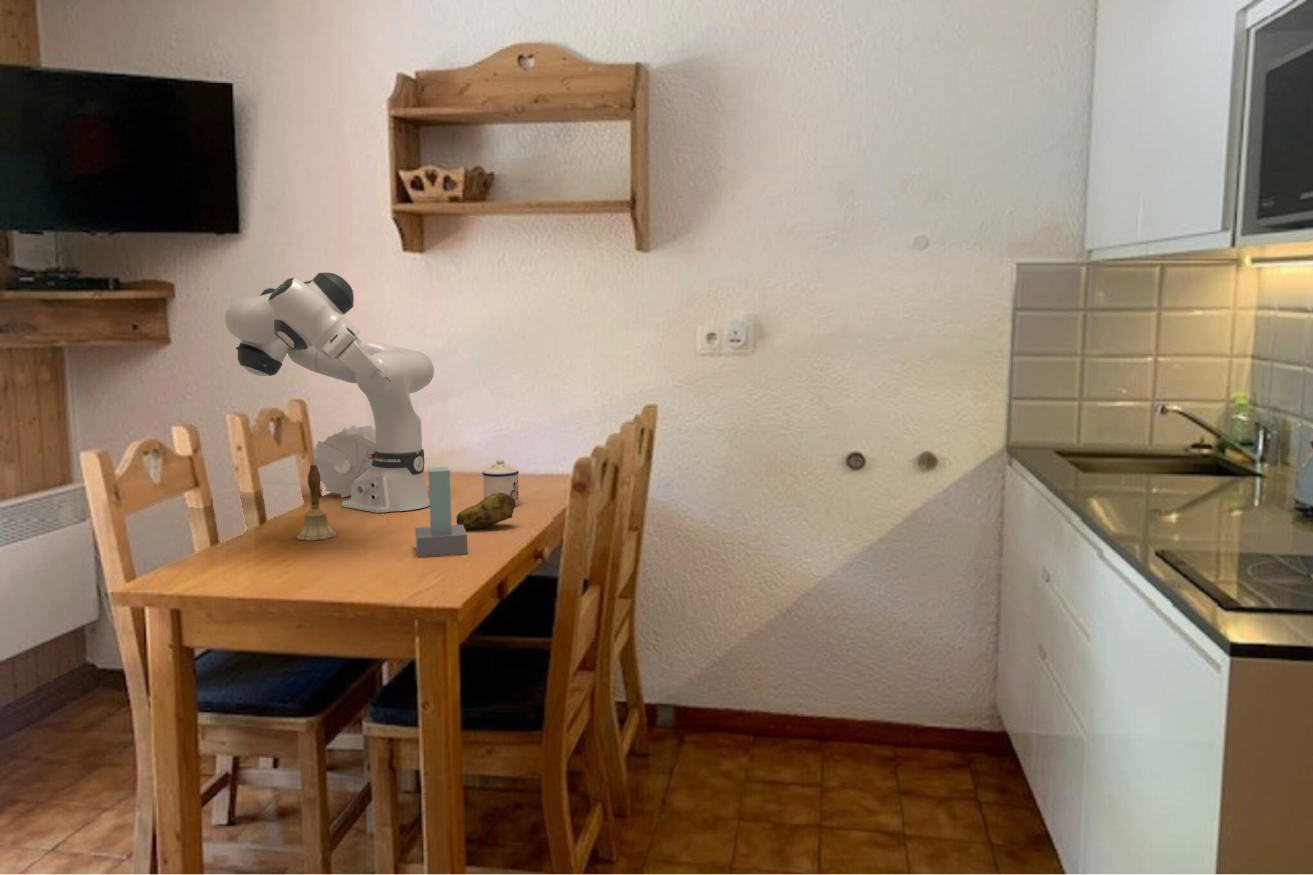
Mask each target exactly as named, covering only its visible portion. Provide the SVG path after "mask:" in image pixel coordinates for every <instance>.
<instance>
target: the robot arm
mask: <svg viewBox="0 0 1313 875" xmlns="http://www.w3.org/2000/svg"><path fill="white" fill-rule="evenodd" d="M353 308H354V291H353V288H352V286H351V285H350V283H348V281H347V280H345V278H343V277H342V276H340V275H339V274H336V273H333V272H318V273H317V274H316V275H315V276H314V277H313V278H312V279H311V280H307V281H302V280H300V279H298V278H297V277H289V278H288V279H286V280H285V281H283V283H281V284H280V285H279V286H278V287H277V288H272V287H268V288H265V289H263V291H262V292H261V293H260V295H257V296H248V297H245V298H241V299H238V300H236V301H235V302H233V303H231V305H230V306H229V307H227V310H226V312H225V314H224V315H225V316H224V323H225V325H226V328H227V330H228V331H229V332H230V333H231V335H233V336H234V337H235V338H237V339H238V340H240V342H239V344H238V346H236V347H235V348H236V350H237V361H238V364H239V365H240V366H241V367H242V368H243V369H244V370H246V371H247V372H248V373H251V374H252V375H255V376H259V377H267V376H269V377H271V376H274V375H276V374H278V373H279V371H280V369H281V368H282V366H283V362H284V360H285V357H286V356H287V355H288V357H289V359H290V360H291V361H292V362H293V363H295V364H297V365H298V366H300V367H303V368H304V369H307V370H308V371H311V372H314V373H316V374H320V375H322V376H326V377H330V378H333V379H336V380H339V381H344V382H346V383H351V384H357V387H358V388H359V390H360V391H361V392H362V393H363V394H364V395H365V397H366V398H367V400H368V403H369V406H370V409H371V411H372V415H373V420H374V426H375V428H374V429H375V430H376V446H377V451H376V452H375V453H373V454H369V455H371V457H369V458H368V459H372V458H373V460H372V464H371V465H372V466H371V467H370V468H368V469H367V470H366V471H365V472H364V473H363V474H362V475H360V476H359V477H358V478H357V479H356V480H355V481H354V482H353V484H352V489H351V495H350V498H347V499H345V500H344V501H342V502H341V507H342V508H343V507H344V508H349V509H353V510H354V509H355V510H361V511H365V512H366V511H367V512H370V513H376V514H381V513H389V512H403V511H413V510H418V509H423V508H427V507H430V496H429V494H428V488H427V483H426V478H425V472H424V468H425V463H426V462H425V450H424V449H423V443H422V442H423V440H422V438H423V437H422V420H421V417H420V416H419V414H418V413H417V412H416V411H415V409H414V407H413V403H412V401H411V395H410V394H413V393H416V392H419V391H421V390H422V389H424V388H426V387H427V386H428V385H429V384H430V383H431V382H432V381H433V378H434V375H435V367H434V363H433V361H432V359H431V358H430V357H429V356H428V355H427V354H425V353H424V352H420V351H417V350H414V349H413V350H412V349H408V348H403V347H399V346H394V345H390V344H385V343H378V342H373V341H366V340H364V339H363V340H362V339H360V338H359V337H358V335H359V334H360V333H361V331H360V330H359V329H358V328H357V327H356V326H355V325H354V324H353V323H351V321H349V320H348V319H347V318H346V317H345V315H346V314H347V313H348V312H350V310H352V309H353ZM369 455H368V456H369Z"/></svg>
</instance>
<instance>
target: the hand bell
mask: <svg viewBox="0 0 1313 875" xmlns="http://www.w3.org/2000/svg"><path fill="white" fill-rule="evenodd" d="M309 466H310V467H309V472H308V475H307V483H308V488H309V491H310V509H309V510H308V511H307V512H305V513H304V522H303V527H302V529H301V530H300V532H299V533H298V534H297V535H296V538H297V539H298V540H299V541H311V542H312V541H314V542H315V541H323V540H329V539H332V538H335V537H336V536H337V533H336V531H335V530H334V529H332V527H331V526H330V524H329V521H328V518H327V517H328V516H327V512H326V511H324V510H323V509H320V502H319V501H320V500H319V498H320V496H319V491H320V487H321V481H320V474H319V471H318V469H317V465H316V464H311V465H309Z"/></svg>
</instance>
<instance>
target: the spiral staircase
mask: <svg viewBox="0 0 1313 875" xmlns="http://www.w3.org/2000/svg"><path fill="white" fill-rule="evenodd" d="M376 451H377V446H376V430H375V428H373V426H372V425H369V426H368V425H366V426H358V427H357V426H356V424H354V423H353V424H352V425H351V427H349V428H347V427H344V428H343V429H342V430H341V431H338V432H337V433H334V434H332V435H331V436H327V437H326V440H324V441H321V440H318V442H317V444H316V446H315V448H314V450H313V453H312V456H314V457H315V458H313V459H314V463H315V465H317V469H318V471H319V474H320V483H322V484H324V485H325V486H326V487H325V490H324V491H326V492H330V493H334V494H338V495H340V497H341V499H342V498H346V497H351V489H352V484H353V482H354V481H355V480H356V479H357V478H358V477H359V476H360V475H362V474H363V473H364V472H365V471H366V470H367V469H368V468H370V467H371V466H372V465H371V464H372V460H373V458H372V459H368V458H369V457H371V455H369V454H373V453H375V452H376ZM368 455H369V456H368Z"/></svg>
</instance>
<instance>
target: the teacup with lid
mask: <svg viewBox="0 0 1313 875" xmlns="http://www.w3.org/2000/svg"><path fill="white" fill-rule="evenodd" d="M481 473H482V477H483V480H482V481H483V482H482V483H483V499H484V498H486V497H488V496H490V495H492V494H497V493H505V494H507V495H509V496H511V497H513V499H514V500H515V506H516V507H518V506H519V503H520V501H519V500H520V499H519V497H520V496H519V469H518V468H517V467H514V466H511V465H510V464H508V463H506V462H505V460H504V459H496V461H495V463H494V464H492V465H491V466H488V467H485V468H484V469H483V470H482V472H481Z"/></svg>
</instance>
